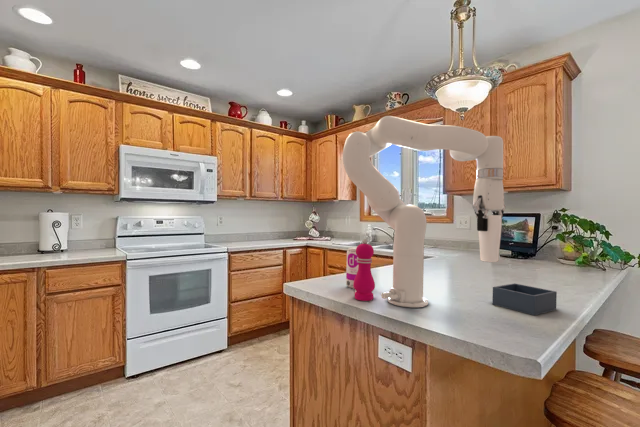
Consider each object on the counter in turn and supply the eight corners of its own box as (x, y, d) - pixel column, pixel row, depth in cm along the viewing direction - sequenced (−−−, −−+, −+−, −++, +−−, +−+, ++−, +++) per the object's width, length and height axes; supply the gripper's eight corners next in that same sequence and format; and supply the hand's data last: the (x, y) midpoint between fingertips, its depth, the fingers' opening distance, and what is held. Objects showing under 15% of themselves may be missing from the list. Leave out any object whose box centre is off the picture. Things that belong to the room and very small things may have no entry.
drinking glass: (504, 263, 98) (505, 215, 98) (481, 262, 99) (481, 215, 99) (496, 260, 104) (497, 215, 104) (474, 259, 106) (475, 215, 106)
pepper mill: (360, 302, 101) (361, 239, 101) (349, 296, 108) (350, 238, 108) (379, 300, 104) (380, 239, 104) (367, 294, 110) (368, 237, 110)
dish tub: (534, 315, 91) (535, 296, 91) (492, 304, 102) (492, 286, 102) (556, 309, 97) (556, 291, 97) (514, 299, 108) (514, 283, 108)
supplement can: (361, 290, 117) (362, 249, 117) (342, 287, 121) (343, 248, 121) (370, 286, 124) (371, 248, 124) (352, 283, 128) (352, 246, 128)
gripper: (494, 178, 109) (494, 229, 109) (462, 175, 101) (461, 230, 101) (516, 176, 103) (516, 230, 103) (484, 172, 94) (484, 232, 94)
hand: (489, 230), depth 102 cm, fingers closed on drinking glass, 6 cm apart
